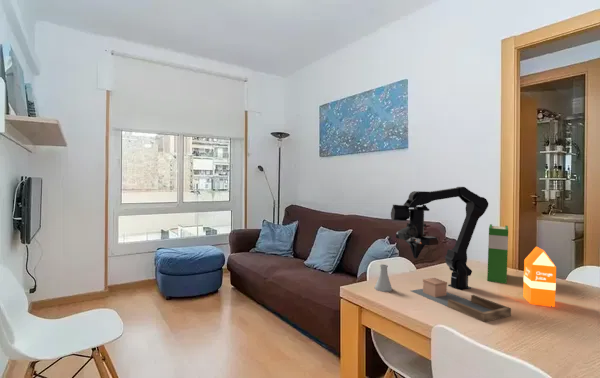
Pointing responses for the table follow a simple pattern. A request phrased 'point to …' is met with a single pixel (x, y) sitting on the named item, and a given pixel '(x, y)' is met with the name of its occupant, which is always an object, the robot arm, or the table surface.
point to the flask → (383, 280)
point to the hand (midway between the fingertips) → (415, 258)
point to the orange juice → (539, 279)
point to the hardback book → (497, 254)
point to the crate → (434, 287)
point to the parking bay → (495, 312)
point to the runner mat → (444, 299)
